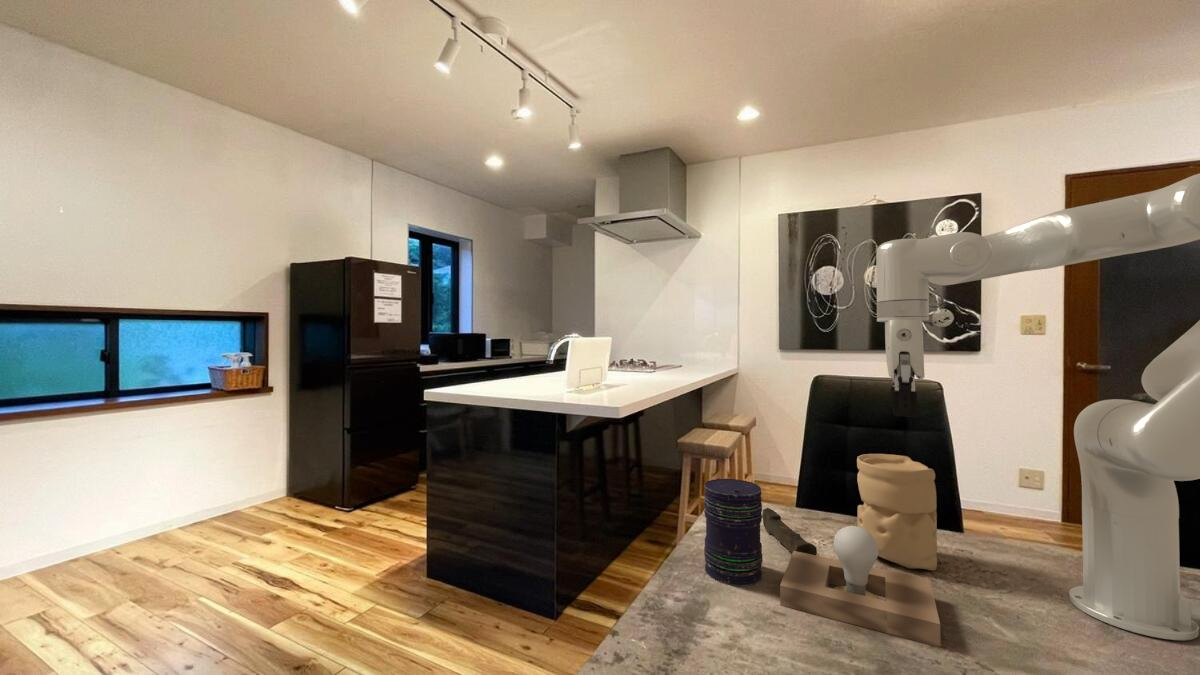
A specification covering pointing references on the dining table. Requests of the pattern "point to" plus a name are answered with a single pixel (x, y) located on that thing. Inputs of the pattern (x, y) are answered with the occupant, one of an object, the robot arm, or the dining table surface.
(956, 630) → the dining table surface
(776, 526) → the hand tool
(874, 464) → the container
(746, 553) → the navy ridged cylinder
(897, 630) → the holder
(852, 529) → the lightbulb
